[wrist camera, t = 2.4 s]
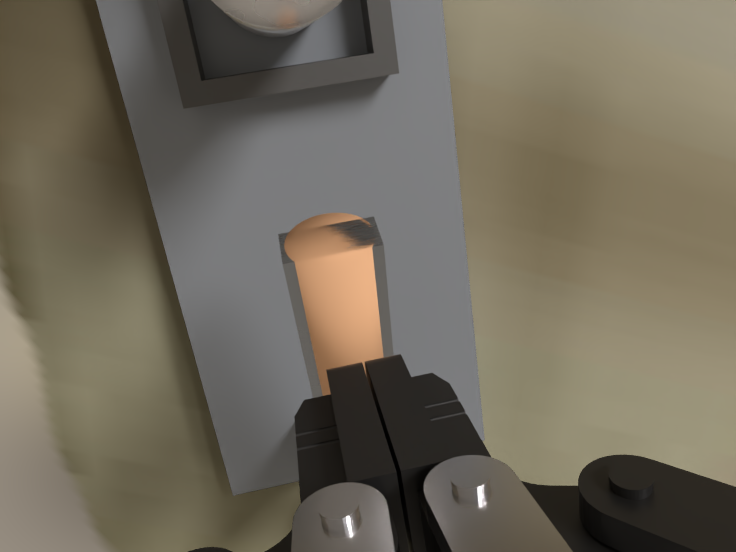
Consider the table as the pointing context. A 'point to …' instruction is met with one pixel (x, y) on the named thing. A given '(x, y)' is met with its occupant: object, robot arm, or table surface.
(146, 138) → the grey flat base
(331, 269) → the lever
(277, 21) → the translucent white cylinder
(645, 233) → the table surface
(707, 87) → the table surface
